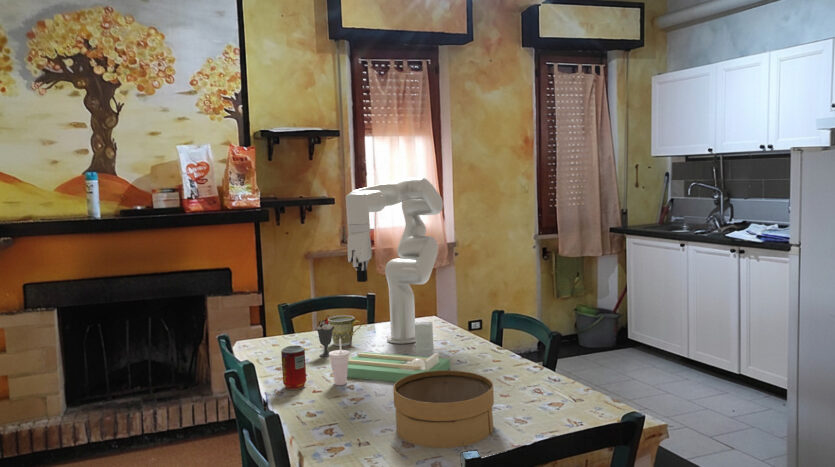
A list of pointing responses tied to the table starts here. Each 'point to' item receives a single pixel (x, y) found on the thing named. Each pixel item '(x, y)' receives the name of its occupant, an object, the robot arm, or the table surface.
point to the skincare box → (424, 339)
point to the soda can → (293, 367)
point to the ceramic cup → (343, 329)
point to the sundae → (325, 335)
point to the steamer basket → (444, 408)
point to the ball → (418, 362)
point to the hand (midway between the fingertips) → (362, 281)
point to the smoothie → (339, 365)
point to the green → (392, 366)
